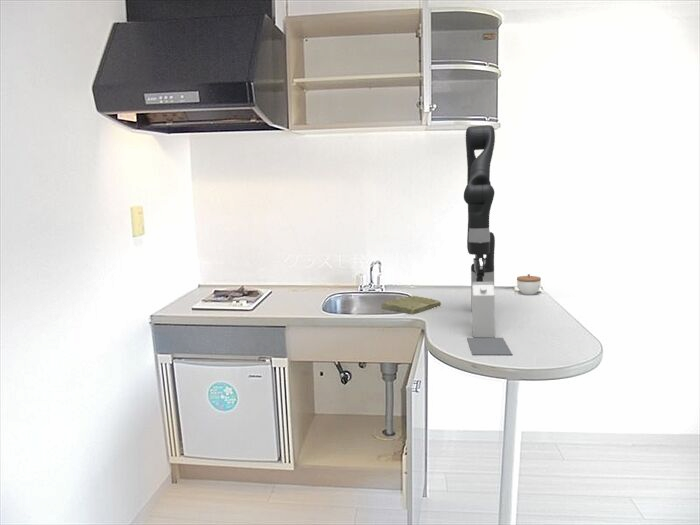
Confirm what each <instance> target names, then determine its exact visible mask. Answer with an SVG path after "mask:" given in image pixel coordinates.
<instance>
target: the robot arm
mask: <svg viewBox="0 0 700 525" xmlns="http://www.w3.org/2000/svg"><path fill="white" fill-rule="evenodd" d="M495 139H496V133H495V128H494V127H493V126H492V125H488V124H486V125H475V126H474V125H472V126H471V125H470V126H468V127H467V128H466V131H465V147H466V148H465V149H466V163H467V165H466V166H467V171H466V173H467V176H466V177H467V178H466V180H467V181H466V182H467V183H466V186H465V189H464V192H463V200H464V203H466V204H467V233H466V234H467V236H466V237H467V238H466V242H467V244H466V248H467V253H468V254H469V255H474V256H475V257H474V258H473V263H472V264H471V266H470V276H471V277H470V280H471V282H470V283H471V284H470V285H471V286H470V288H471V290H470V292H471V300H470V302H471V304H470V305H471V307H470V308H471V311H470V312H472V282H494V283H495V247H496V244H495V243H496V239H495V238H496V237H495V234H494V233H493V232H491V231H490V214H491V209H492V204H493V201H494V198H495V189H494V187H493V186H492V184H491V181H490V178H491V177H490V175H491V174H490V172H491V171H490V170H491V162H492V159H493V154H494V149H495V143H496V140H495ZM475 151H481V153H480V154H479V155H477V156H476V153H475ZM484 255H485V257H484Z"/></svg>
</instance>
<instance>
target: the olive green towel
mask: <svg viewBox="0 0 700 525" xmlns="http://www.w3.org/2000/svg"><path fill="white" fill-rule="evenodd" d="M440 305H442V304H441V301H440V300H437V299H433V298H429V297H423V296H417V295H413V296H412V295H410V296H407V297H404V298H403V297H400V298H398V299H395V298H393V299H390V300H387V301H385V302H382V303H381V310H387V311H389V312H395V313H400V314H407V315H415V314H419V313H422V312H425V311H430V310H432V308H433V309H435V308H434V307H436V308H438V307H437V306H439V307H441V306H440Z"/></svg>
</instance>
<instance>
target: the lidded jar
mask: <svg viewBox="0 0 700 525" xmlns="http://www.w3.org/2000/svg"><path fill="white" fill-rule="evenodd" d="M516 280H517V282H516V283H517V288H518V291H519V292H521V294H522V295H525V296H533V295H536V293H538V291H539V290H540V288H541V277H540V276H536V275H531V274H529V273H528V274H527V275H521V276H517V277H516Z"/></svg>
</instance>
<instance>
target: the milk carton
mask: <svg viewBox="0 0 700 525" xmlns="http://www.w3.org/2000/svg"><path fill="white" fill-rule="evenodd" d="M495 296H496V295H495V281H494V282H472V311H471V325H472V326H471V331H472V338H496V336H495V332H496V330H495V328H496V327H495V324H496V321H495V320H496V319H495V318H496V317H495V313H496V312H495V308H496V307H495V305H496V304H495V301H496V300H495Z"/></svg>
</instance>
